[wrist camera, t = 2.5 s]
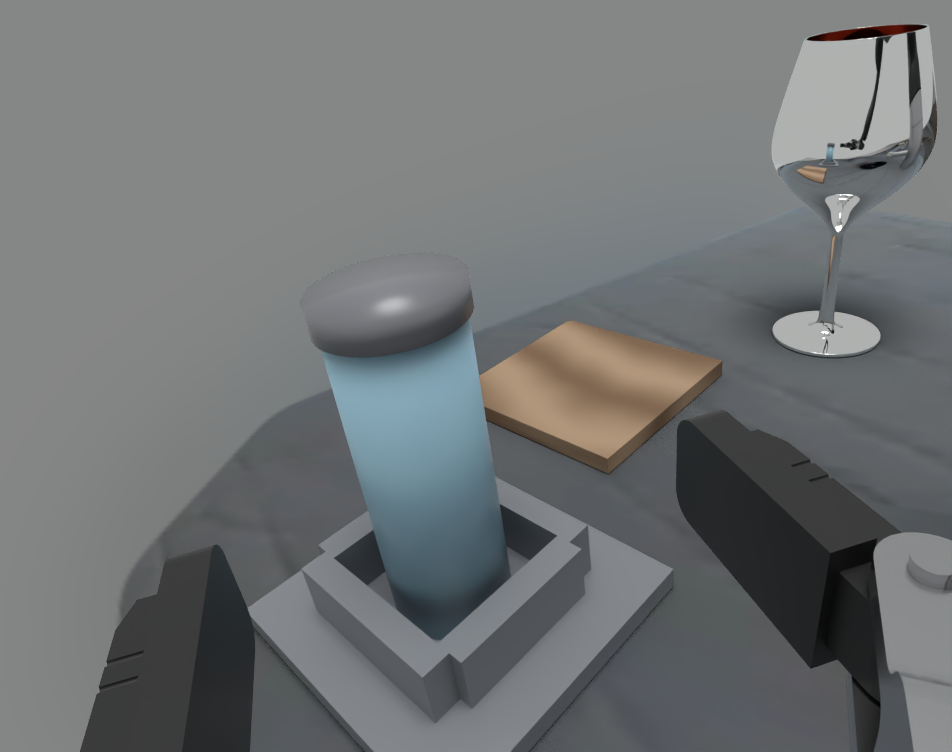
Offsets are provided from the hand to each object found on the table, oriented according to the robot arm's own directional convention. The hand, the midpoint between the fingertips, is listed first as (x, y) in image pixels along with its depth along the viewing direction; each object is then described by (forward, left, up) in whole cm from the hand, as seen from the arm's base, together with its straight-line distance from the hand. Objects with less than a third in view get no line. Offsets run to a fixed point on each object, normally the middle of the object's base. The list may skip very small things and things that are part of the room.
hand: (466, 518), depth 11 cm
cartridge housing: (-6, -10, -15) cm, 19 cm away
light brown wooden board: (-23, -16, -15) cm, 31 cm away
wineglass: (-37, -7, -15) cm, 40 cm away
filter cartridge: (-6, -10, -14) cm, 18 cm away
